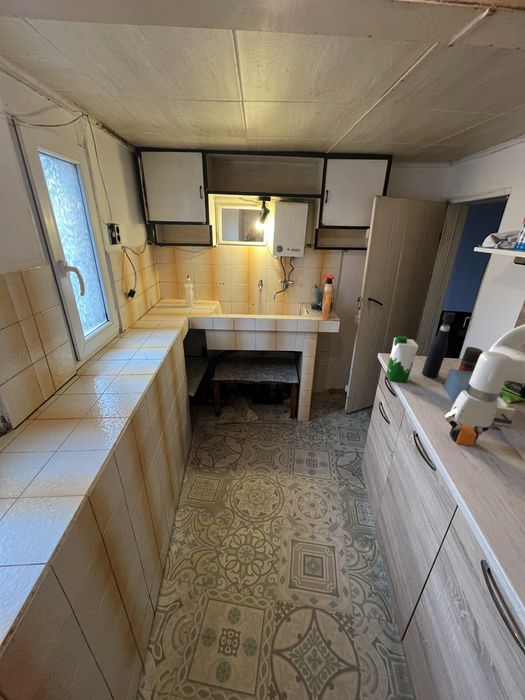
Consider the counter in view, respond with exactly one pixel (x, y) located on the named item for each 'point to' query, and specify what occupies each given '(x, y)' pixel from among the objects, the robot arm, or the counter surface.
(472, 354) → the deodorant
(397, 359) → the milk carton
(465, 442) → the small orange cuboid
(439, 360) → the black water bottle
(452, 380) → the blue drawer cabinet
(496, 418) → the white drawer
